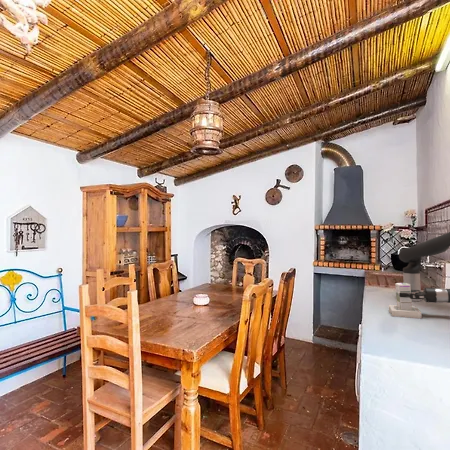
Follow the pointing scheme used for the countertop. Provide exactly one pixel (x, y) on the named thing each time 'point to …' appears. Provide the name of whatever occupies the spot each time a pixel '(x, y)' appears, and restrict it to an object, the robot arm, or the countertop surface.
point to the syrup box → (403, 302)
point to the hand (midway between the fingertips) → (398, 293)
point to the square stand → (404, 312)
